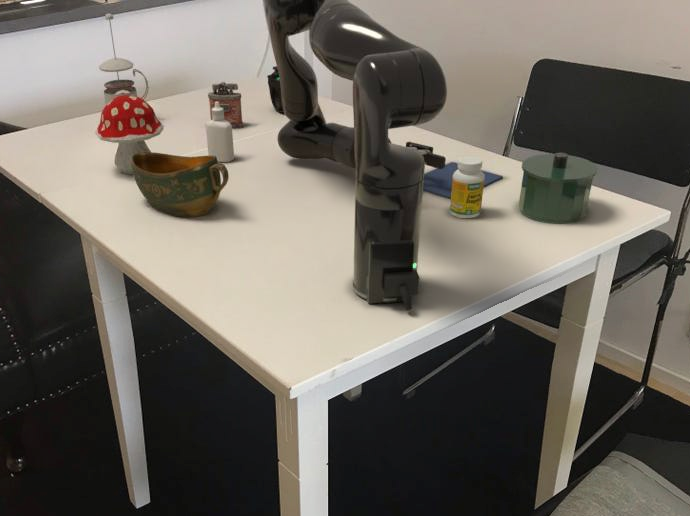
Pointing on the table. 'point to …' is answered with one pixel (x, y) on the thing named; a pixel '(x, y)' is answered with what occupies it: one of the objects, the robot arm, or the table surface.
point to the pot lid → (559, 167)
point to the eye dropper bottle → (219, 136)
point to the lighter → (227, 102)
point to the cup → (179, 182)
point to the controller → (275, 89)
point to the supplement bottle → (467, 188)
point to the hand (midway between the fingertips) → (429, 169)
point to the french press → (118, 85)
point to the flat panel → (449, 180)
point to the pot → (554, 199)
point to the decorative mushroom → (128, 128)
